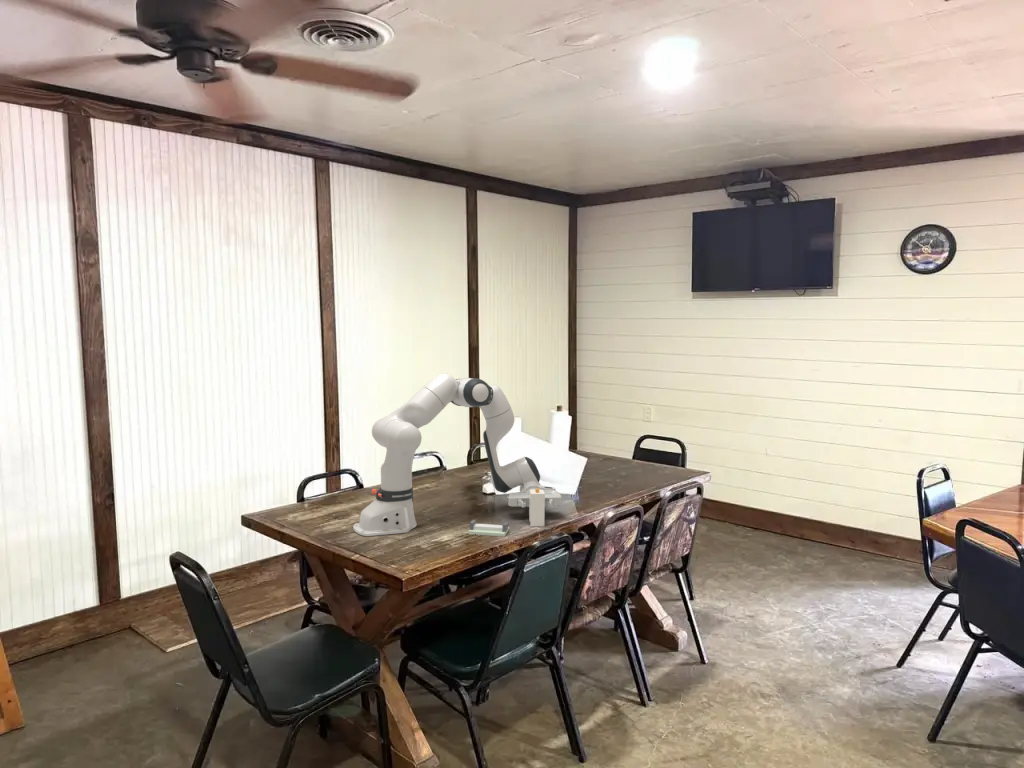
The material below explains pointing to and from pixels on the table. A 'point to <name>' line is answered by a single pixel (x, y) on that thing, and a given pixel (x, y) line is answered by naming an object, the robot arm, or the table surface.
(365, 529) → the robot arm
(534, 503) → the block
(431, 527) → the table surface
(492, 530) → the rail plate
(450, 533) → the table surface
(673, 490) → the table surface
